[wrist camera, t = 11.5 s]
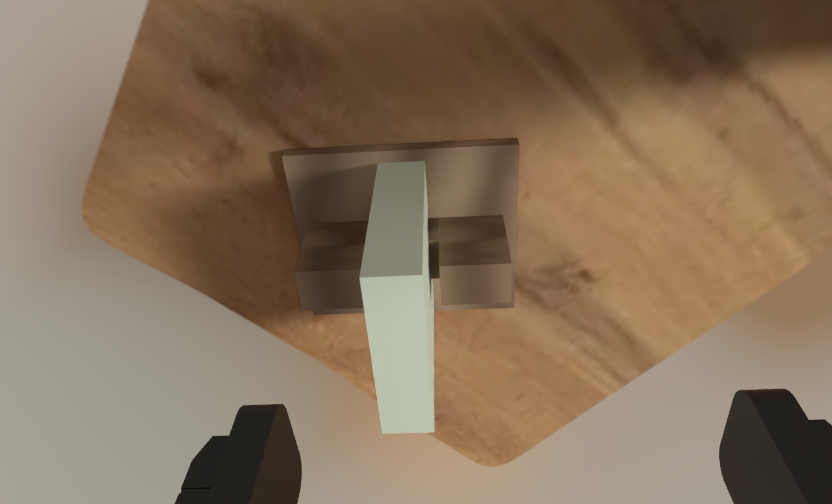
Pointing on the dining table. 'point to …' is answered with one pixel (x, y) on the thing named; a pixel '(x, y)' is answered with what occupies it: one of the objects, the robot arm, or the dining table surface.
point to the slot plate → (447, 220)
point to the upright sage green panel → (400, 298)
